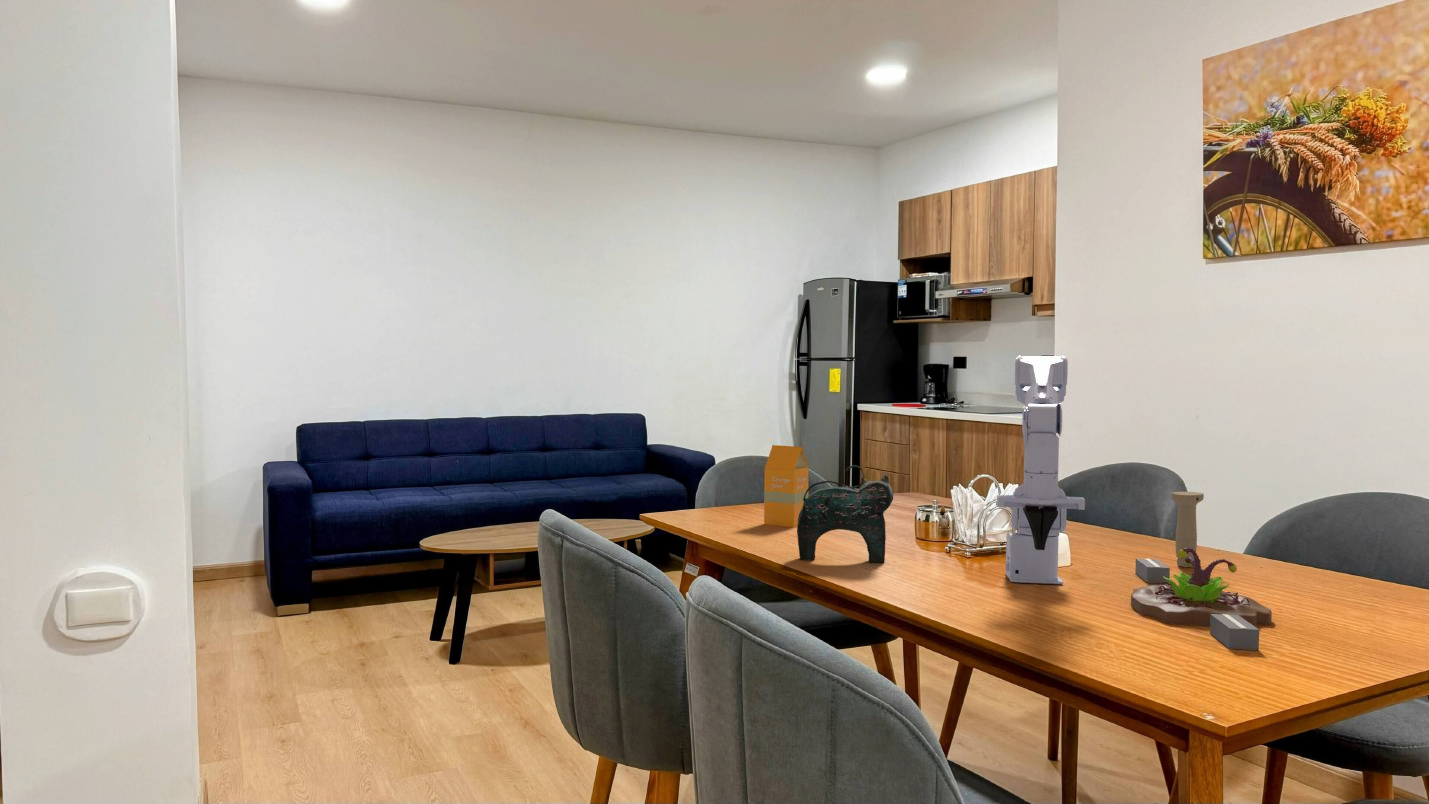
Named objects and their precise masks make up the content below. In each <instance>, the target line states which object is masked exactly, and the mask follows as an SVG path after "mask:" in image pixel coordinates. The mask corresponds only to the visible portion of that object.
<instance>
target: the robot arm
mask: <svg viewBox="0 0 1429 804" xmlns="http://www.w3.org/2000/svg"><path fill="white" fill-rule="evenodd" d="M1068 363H1069V361H1068V357H1066V356H1065V355H1061V356H1059V355H1058V356H1053V355H1052V356H1043V355H1042V356H1034V355H1033V356H1027V355H1025V356H1023V355H1022V356H1021V355H1017V357H1015V362H1014V367H1015V368H1014V370H1015V371H1014V385H1015V396H1016V401H1017V402H1019V403H1022V404H1023V405H1024V406H1023V407H1022V423H1021V425H1022V427H1021V429H1022V430H1021V431H1022V435H1023V446H1024V451H1023V456H1024V457H1023V483H1022V484H1020V485H1019V486H1017V487H1016V488H1015V489H1014V491H1013V494H1012V495H1011V494H1007V495H1005V494H1003V495H1002V494H1001V495H1000V494H998V495H996V507H997V508H1000V509H1001V508H1002V509H1004V508H1011V527H1012V528H1013V529H1014V531H1017V530H1018V531H1017V532H1008V533H1007V535H1006V541H1005V543H1006V544H1005V545H1006V546H1005V547H1006V550H1005V552H1006V553H1005V573H1004V574H1005V575H1006V577H1007V578H1008V580H1009V581H1010V582H1011V583H1025V584H1027V583H1029V584H1049V585H1051V584H1052V585H1063V584H1064V581H1063V580H1062V579H1061V578H1060V576H1059V570H1058V569H1059V538H1060V533H1064V532H1065V531H1066V529H1067V510H1070V509H1071V510H1080V511H1081V510H1083V511H1085V510H1086V509H1085V508H1086V498H1084V497H1081V496H1067V495H1066V493H1065V491H1064V490H1063V489H1062V488H1061V487H1059V459H1060V458H1059V454H1060V450H1059V449H1060V438H1059V437H1061V435H1062V431H1063V409H1062V404H1061V403H1062V402H1064V401H1065V397H1066V395H1067V385H1068V373H1069V372H1068V371H1069V369H1068V365H1069V364H1068ZM1058 435H1059V436H1058Z"/></svg>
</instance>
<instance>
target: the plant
mask: <svg viewBox="0 0 1429 804" xmlns="http://www.w3.org/2000/svg"><path fill="white" fill-rule="evenodd" d="M1189 552H1192V554H1193V557H1194V559H1192V558H1190V557H1187V554H1188V553H1189ZM1178 556H1179V558H1185V557H1186V558H1185V559H1184V563H1185V564H1186V565H1188V566H1190V565H1192V566H1193V567H1192V568H1193V572H1192V573H1191V575H1189V574H1188V573H1184V572H1180V573H1179V574H1178V575H1177V574H1175V573H1172V576H1173V578H1174V579H1175V580H1176V581H1177V583H1178V584H1176V582H1175V581H1174V580H1172V579H1171V578H1170V579H1169V578H1166V577H1164V579H1165V580H1166V581H1168V582H1169V583H1168V582H1166V581H1163V582H1162V583H1155V584H1153V585H1146V586H1141V587H1138V588H1136V587H1135V588H1133V592H1132V593H1131V595H1130V607H1131V609H1133V610H1134V611H1135V612H1137V613H1138V614H1140V615H1142V616H1144V617H1145V616H1146V617H1150V618H1153V619H1155V620H1158V621H1161V622H1162V623H1164V624H1166V625H1167V624H1168V625H1170V624H1171V625H1177V626H1195V627H1210V614H1228V615H1239V616H1240V617H1242V618H1243V619H1245V620H1246V621H1247V622H1249V623H1250V624H1252V625H1253V626H1255V627H1256V628H1257V626H1258V625H1261V626H1270V625H1271V624H1272V621H1273V620H1272V619H1273V618H1272V617H1273V616H1272V614H1273V613H1272V609H1271V608H1269V607H1266V606H1264V605H1262V604H1261V603H1259V602H1258V601H1256V600H1254V599H1252V598H1251V597H1249V596H1245V595H1242V594H1239V592H1238V591H1236V592H1230V591H1225V589H1227V588H1228V587H1230V584H1225V585H1223V586H1221V584H1222V582H1223V579H1224V578H1223V577H1222V576H1216V577H1212V578H1211V575H1212V572H1213V570H1214V569H1215V567H1216V566H1218V565H1219V564H1223V563H1225V564H1227V570H1228V571H1229V572H1231V573H1233V574H1234V573H1236V572H1237V570H1238V567H1237V565H1236V564H1234V563H1233V562H1232V561H1229V560H1226V559H1225V558H1223V559H1216V560H1214V561H1212V562H1210V564H1208V565H1207V566H1206V567H1205V568H1204V569H1203V568H1202V566H1201V559H1200V558H1199V555H1198V553H1197V551H1196V552H1195V551H1194V550H1193V549H1191V548H1184V549H1180V550H1179V551H1178ZM1164 583H1166V584H1164Z"/></svg>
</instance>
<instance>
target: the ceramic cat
mask: <svg viewBox="0 0 1429 804" xmlns="http://www.w3.org/2000/svg"><path fill="white" fill-rule="evenodd" d="M852 468H857V469H859V470H860V471H861V472H862V477H861V479H860V480H861V482H860V483H859V484H858V485H854V486H848V485H846V484H841V483H839V482H837V481H832V480H822V481H818V482H815V483H812V484H811V485H809V486H808V489H807V491H806V493H805V495H804V498H803V501H804V503H803V507H802V509H801V511H800V514H799V517H798V527H796V535H797V545H798V546H797V547H798V551H799V552H798V553H799V560H800V561H815V559H816V549H817V543H818V540H819V538H821V537H822V536H823V535H825V534H826V533H829V532H831V531H836V530H837V531H838V530H842V531H843V530H844V531H849V532H855V533H857V534H860V536H862V538H863V540H864V542H865V544H866V548H867V553H868V562H869V564H870V563H871V564H873V563H874V564H875V563H879V564H880V563H881V564H885V561H886V558H885V557H886V540H887V539H886V538H887V535H886V520H885V516H884V513H885V512H886V511H887V510H888V509H889V508H890V506H891V504H892V502H893V500H894V490H893V487H892V486H891V484H890V480H889V477H888V475H887V474H885V475H883V476H882V478H881V479H879V480H868V479H866V478H865V473H864V470H863V468H862V467H860V466H859V465H856V464H855V465H854V464H853V465H851V466H848V467H847V468H846V469H845V472H846V473H847V472H848V471H849V470H850V469H852ZM828 483H829V484H835V486H830V487H822V488H820V489H817V490H815V491H813V492H812V493H811V494H809V495H808V498H806V499H805V497H806V494H807V492H808V493H809V491H810V490H812V489H813V487H815V486H817V485H822V484H823V485H824V484H828ZM836 485H837V486H836ZM858 487H859V488H858Z"/></svg>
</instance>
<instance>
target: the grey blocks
mask: <svg viewBox="0 0 1429 804" xmlns="http://www.w3.org/2000/svg"><path fill="white" fill-rule="evenodd" d="M1170 572H1171V567H1169V566H1168V565H1166V564H1165V563H1163V562H1162V561H1160V560H1159V559H1157V558H1135V572H1134V573H1135V575H1137V576H1138V578H1140V579H1142V580H1143V581H1144V582H1146V584H1162V582H1163V581H1166V580H1165V579H1164V577H1166V578H1169V579H1171V578H1170V576H1171V573H1170ZM1166 582H1168V581H1166ZM1168 583H1169V582H1168ZM1163 584H1166V583H1163ZM1209 634H1210V635H1212V636H1213V637H1214V638H1215V639H1216V640H1218V641H1219V642H1220V643H1221V644H1222V645H1223V646H1225V647H1226V648H1228V649H1229V650H1249V651H1250V650H1252V651H1259V650H1260V644H1259V643H1260V628H1258V627H1257V626H1256V627H1255V626H1253V625H1252V624H1250V623H1249V622H1247V621H1246V620H1245V619H1243V618H1242V617H1240V616H1239V615H1228V614H1210V626H1209Z"/></svg>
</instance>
